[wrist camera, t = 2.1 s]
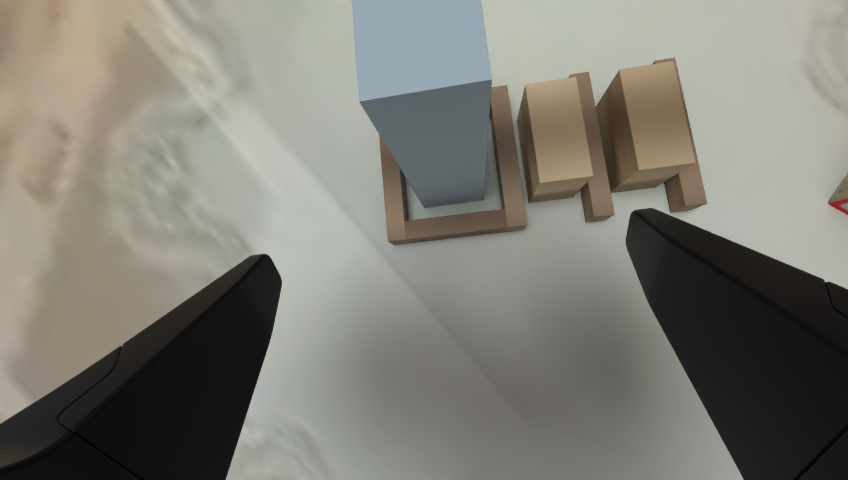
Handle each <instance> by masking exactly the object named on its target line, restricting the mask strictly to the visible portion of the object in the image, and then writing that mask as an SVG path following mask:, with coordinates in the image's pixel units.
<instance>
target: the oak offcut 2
mask: <svg viewBox="0 0 848 480" xmlns="http://www.w3.org/2000/svg"><path fill="white" fill-rule="evenodd" d="M595 109H596V115H597V120H598V126H599V131H600V137H601V142H602V148H603V153H604V159H605V164H606V170H607V175H608V181H609V187H610V192H611V193H613V192H621V191H629V190H637V189H645V188H653V187H656V186H658V185H660V184H661V183H663V182H664V181H666V180H668V179H669V178H671V177H673V176H674V175H676V174H678V173H679V172H681V171H683V170H684V169H686V168H688V167H689V166H691V165H693V164H694V163H696V162H695V158H694V153H693V149H692V144H691V140H690V135H689V130H688V126H687V121H686V117H685V112H684V108H683V103H682V99H681V94H680V89H679V85H678V80H677V76H676V71H675V67H674V62H673V61H670V62H664V63H658V64H652V65H646V66H639V67H633V68H627V69H621V70H619V71H618V73H617V74H616V76H615V77H614V79H613V81H612V82H611V84H610V85H609V87H608V89H607V90H606V92H605V93H604V95H603V96H602V98H601V100H600V101H599V103H598V104H597V106H596V107H595Z"/></svg>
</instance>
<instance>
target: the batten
mask: <svg viewBox="0 0 848 480" xmlns="http://www.w3.org/2000/svg"><path fill="white" fill-rule="evenodd" d="M352 10H353V23H354V36H355V50H356V63H357V77H358V90H359V102H360V103H361V105H362V107H363V108H364V110H365V112H366V113H367V115H368V116H369V118H370V120H371V121H372V123H373V125H374V126H375V128H376V130H377V131H378V133H379V134H380V136H381V138H382V139H383V141H384V143H385V144H386V146H387V148H388V149H389V151H390V153H391V154H392V156H393V157H394V159H395V161H396V162H397V164H398V166H399V167H400V169H401V171H402V172H403V174H404V176H405V177H406V179H407V180H408V182H409V184H410V185H411V187H412V189H413V190H414V192H415V194H416V195H417V197H418V198H419V200H420V202H421V203H422V205H423V207H424V208H426V207H434V206H442V205H450V204H458V203H465V202H473V201H481V200H484V187H485V172H486V157H487V143H488V128H489V113H490V98H491V84H492V77H491V70H490V62H489V55H488V48H487V40H486V33H485V26H484V18H483V11H482V3H481V0H352Z"/></svg>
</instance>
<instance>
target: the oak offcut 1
mask: <svg viewBox="0 0 848 480" xmlns="http://www.w3.org/2000/svg"><path fill="white" fill-rule="evenodd" d="M517 126H518V133H519V140H520V147H521V153H522V160H523V167H524V174H525V181H526V188H527V195H528V202H529V203H533V202H541V201H549V200H557V199H565V198H572V197H573V196H574V195H575V194H576V193H577V192H578V191H579V190H580V189H581V188H582V187H583V186H584V185H585V184H586V183H587V182H588V181H589V180H590V179H591V178H592V177H593V171H592V166H591V160H590V154H589V148H588V143H587V137H586V131H585V125H584V120H583V114H582V108H581V103H580V97H579V91H578V85H577V80H576V77H571V78H565V79H559V80H553V81H546V82H540V83H534V84H528V85H525V88H524V93H523V97H522V101H521V106H520V110H519V114H518V119H517Z"/></svg>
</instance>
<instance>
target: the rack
mask: <svg viewBox="0 0 848 480" xmlns="http://www.w3.org/2000/svg"><path fill="white" fill-rule="evenodd" d="M670 61H673V62H674V67H675V71H676V76H677V80H678V85H679V89H680V94H681V99H682V103H683V108H684V112H685V117H686V121H687V126H688V130H689V135H690V140H691V144H692V149H693V153H694V158H695V162H696V163H694V164H693V165H691V166H689V167H688V168H686V169H684V170H683V171H681V172H679V173H678V174H676V175H674V176H673V177H671V178H669V179H668V180H666V181H664V183H665V188H666V193H667V197H668V202H669V207H670V212H679V211H688V210H692V209H695V208H697V207H700V206H702V205H705V204H707V200H706V196H705V191H704V187H703V182H702V178H701V173H700V169H699V164H698V160H697V155H696V151H695V146H694V142H693V137H692V133H691V128H690V124H689V119H688V114H687V110H686V105H685V101H684V96H683V92H682V87H681V83H680V78H679V74H678V69H677V65H676V60H675V58H670V59H664V60H658V61H655V62H654V63H653V64H658V63H664V62H670ZM571 77H576V80H577V85H578V91H579V97H580V103H581V108H582V114H583V120H584V125H585V131H586V137H587V143H588V148H589V154H590V160H591V166H592V171H593V177H592V178H591V179H590V180H589V181H588V182H587V183H586V184H585V185H584V186H583V187H582V188H581V189H580V190H581V196H582V202H583V208H584V214H585V220H586V222H594V221H602V220H606V219H608V218H609V217H611V216H613V215H615V214H614V209H613V203H612V198H611V192H610V187H609V181H608V175H607V170H606V164H605V159H604V153H603V148H602V142H601V137H600V131H599V126H598V120H597V115H596V109H595V103H594V98H593V92H592V87H591V81H590V76H589V72H584V73H578V74H572V75H570V76H569V78H571ZM489 117H490V118H491V126H492V134H493V141H494V149H495V156H496V164H497V171H498V179H499V186H500V194H501V201H502V209H500V210H492V211H484V212H476V213H468V214H459V215H451V216H443V217H435V218H427V219H419V220H411V221H409V220H408V210H407V199H406V188H405V177H404V174H403V172H402V171H401V169H400V167H399V166H398V164H397V162H396V161H395V159H394V157H393V156H392V154H391V153H390V151H389V149H388V148H387V146H386V144H385V143H384V141H383V139H382V138H381V136H380V134H379V138H380V150H381V162H382V174H383V187H384V199H385V211H386V223H387V235H388V242H390V243H392V244H393V245H397V244H406V243H414V242H423V241H431V240H440V239H448V238H457V237H465V236H474V235H482V234H491V233H500V232H508V231H517V230H524V228H525V227H526V225H527V222H526V215H525V208H524V201H523V194H522V187H521V180H520V173H519V166H518V159H517V152H516V145H515V138H514V131H513V124H512V117H511V109H510V102H509V95H508V88H507V85H505V86H499V87H493V88H491V98H490V113H489Z"/></svg>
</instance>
